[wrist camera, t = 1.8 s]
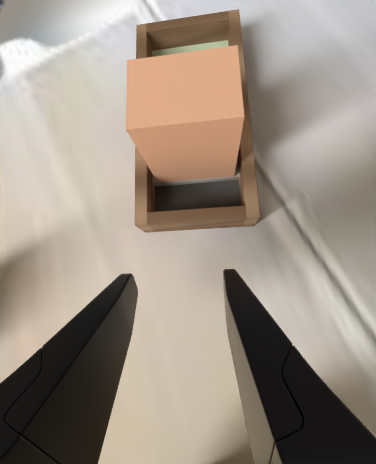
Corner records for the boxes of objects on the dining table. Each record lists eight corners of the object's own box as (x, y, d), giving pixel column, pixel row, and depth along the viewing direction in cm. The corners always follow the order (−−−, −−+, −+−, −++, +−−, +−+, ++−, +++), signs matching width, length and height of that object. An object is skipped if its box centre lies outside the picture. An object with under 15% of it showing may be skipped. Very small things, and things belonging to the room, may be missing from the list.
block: (234, 176, 22) (244, 116, 14) (157, 182, 22) (126, 129, 14) (230, 126, 23) (237, 45, 15) (157, 134, 23) (127, 60, 15)
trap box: (254, 225, 22) (259, 217, 19) (145, 232, 23) (134, 225, 20) (236, 40, 26) (238, 9, 23) (145, 53, 27) (136, 25, 24)
